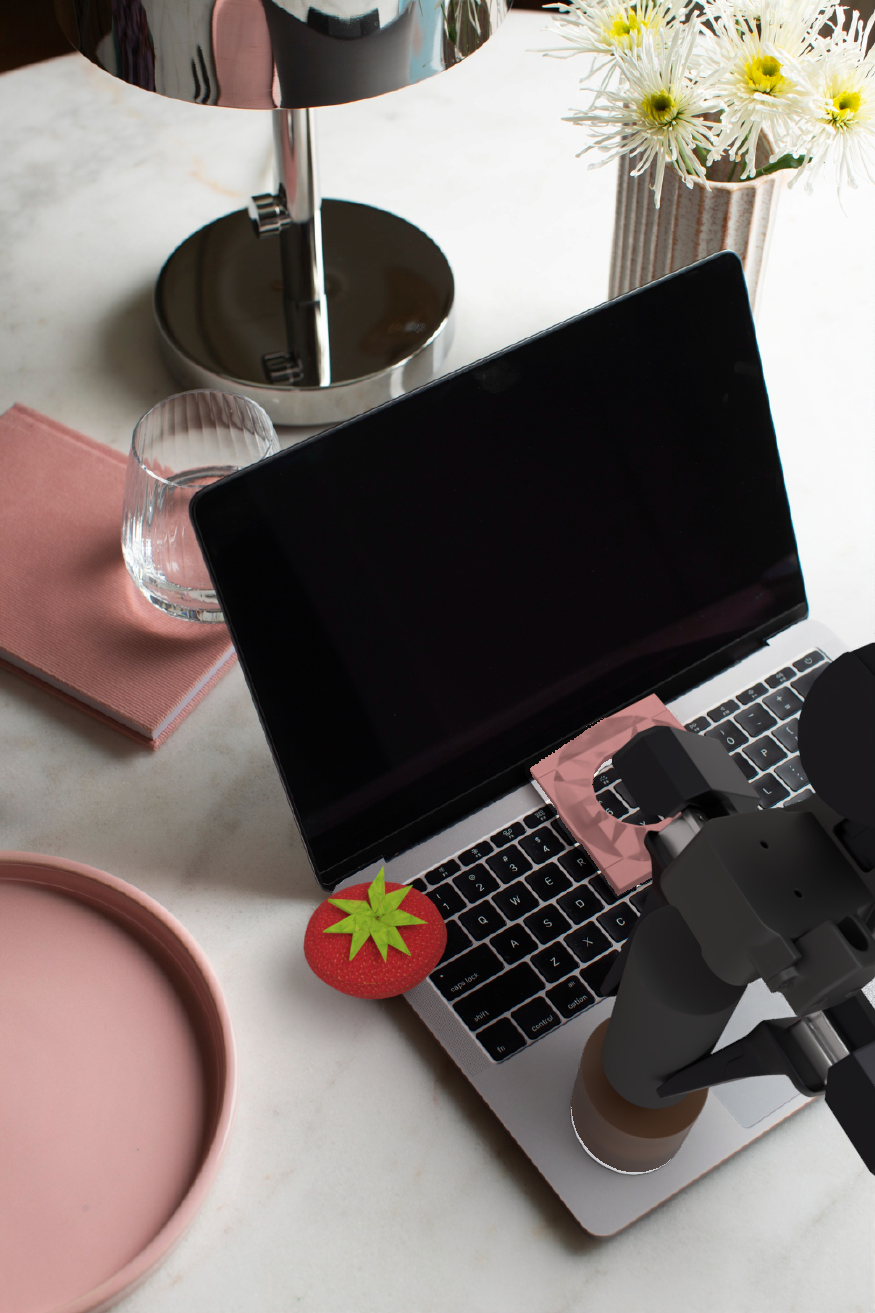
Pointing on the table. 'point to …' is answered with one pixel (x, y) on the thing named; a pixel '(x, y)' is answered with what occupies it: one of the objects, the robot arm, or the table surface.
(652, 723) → the base pad
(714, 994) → the cylindrical post
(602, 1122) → the cylinder
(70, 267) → the table surface
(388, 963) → the strawberry
